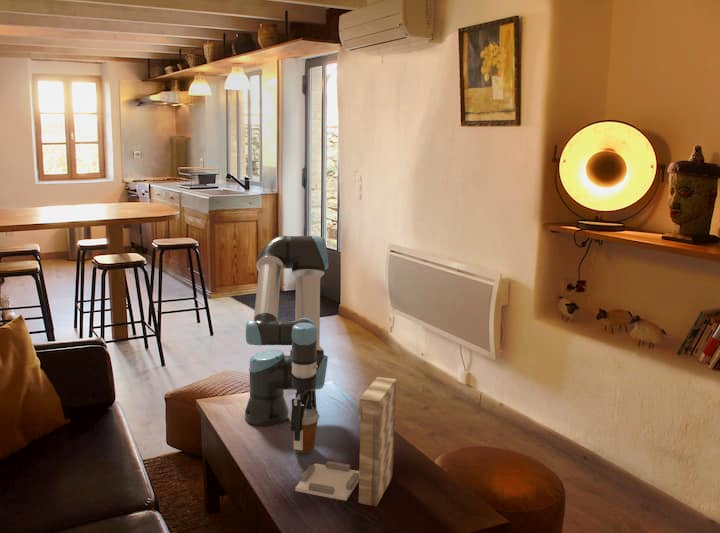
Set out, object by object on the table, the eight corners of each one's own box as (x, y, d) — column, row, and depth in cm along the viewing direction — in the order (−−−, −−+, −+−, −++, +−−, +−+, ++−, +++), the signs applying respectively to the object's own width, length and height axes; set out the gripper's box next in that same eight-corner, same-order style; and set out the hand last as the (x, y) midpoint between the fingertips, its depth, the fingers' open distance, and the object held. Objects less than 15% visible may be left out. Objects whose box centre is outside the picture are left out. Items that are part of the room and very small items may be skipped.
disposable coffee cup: (314, 457, 208) (314, 420, 205) (284, 453, 210) (284, 417, 207) (322, 442, 217) (322, 407, 215) (293, 439, 219) (293, 404, 216)
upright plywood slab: (374, 473, 201) (377, 376, 195) (392, 476, 200) (396, 379, 194) (356, 502, 186) (359, 398, 180) (376, 506, 184) (379, 401, 178)
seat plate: (315, 466, 205) (315, 458, 204) (362, 474, 200) (363, 467, 200) (295, 491, 191) (295, 482, 190) (346, 500, 186) (346, 492, 186)
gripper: (302, 388, 197) (302, 460, 202) (327, 364, 217) (326, 430, 222) (278, 384, 200) (278, 456, 204) (305, 361, 219) (305, 426, 224)
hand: (303, 442), depth 213 cm, fingers closed on disposable coffee cup, 8 cm apart
